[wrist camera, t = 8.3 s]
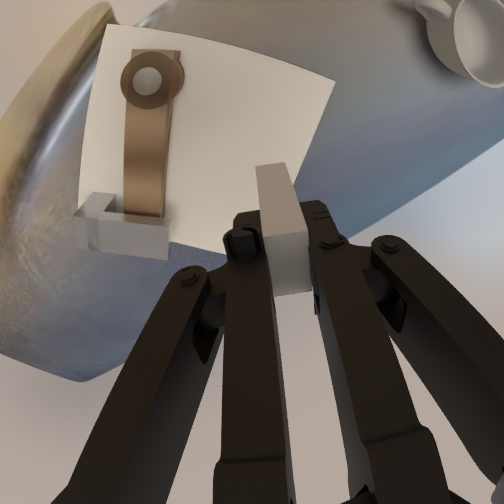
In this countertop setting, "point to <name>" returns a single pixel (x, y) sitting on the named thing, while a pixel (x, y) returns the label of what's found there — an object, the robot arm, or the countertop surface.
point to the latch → (148, 127)
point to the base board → (204, 128)
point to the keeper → (120, 229)
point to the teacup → (467, 37)
